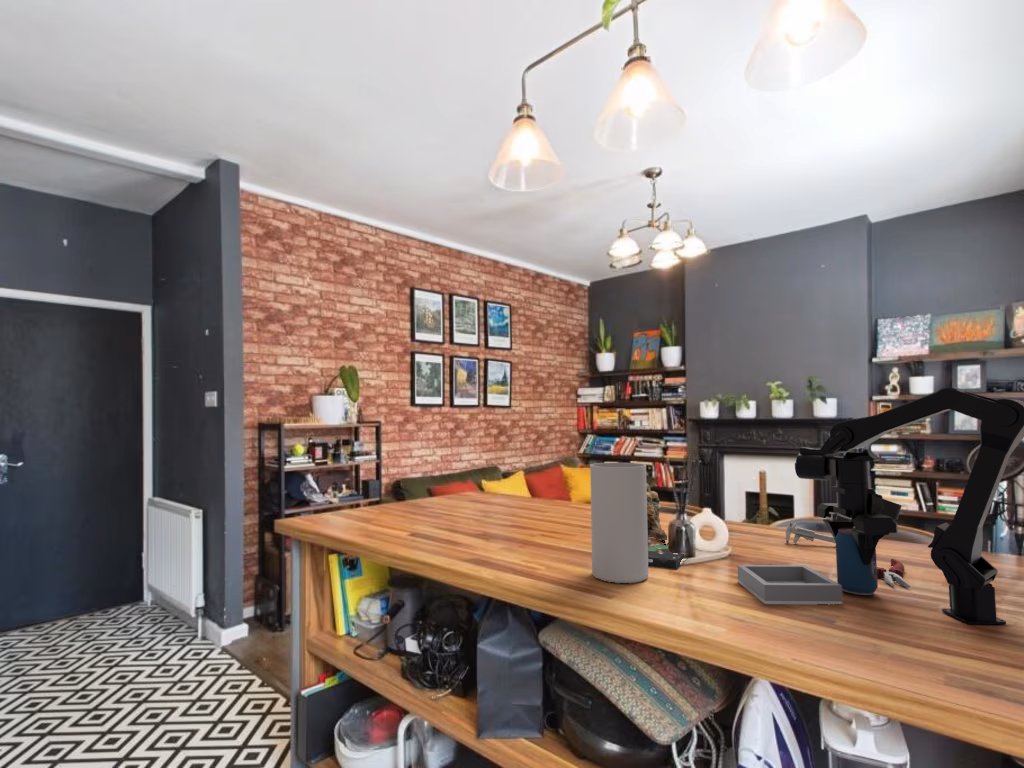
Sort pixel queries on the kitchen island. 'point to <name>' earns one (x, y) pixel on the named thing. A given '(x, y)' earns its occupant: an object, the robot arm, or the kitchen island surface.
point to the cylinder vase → (619, 522)
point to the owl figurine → (654, 516)
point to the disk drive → (663, 557)
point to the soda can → (854, 566)
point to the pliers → (893, 574)
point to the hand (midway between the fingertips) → (856, 560)
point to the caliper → (805, 534)
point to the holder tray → (789, 584)
